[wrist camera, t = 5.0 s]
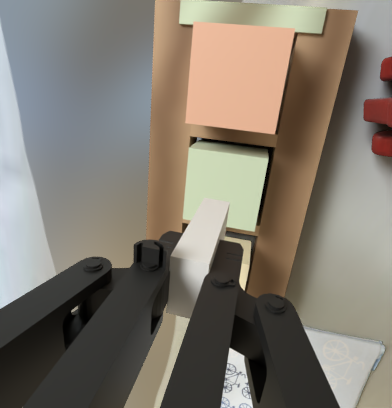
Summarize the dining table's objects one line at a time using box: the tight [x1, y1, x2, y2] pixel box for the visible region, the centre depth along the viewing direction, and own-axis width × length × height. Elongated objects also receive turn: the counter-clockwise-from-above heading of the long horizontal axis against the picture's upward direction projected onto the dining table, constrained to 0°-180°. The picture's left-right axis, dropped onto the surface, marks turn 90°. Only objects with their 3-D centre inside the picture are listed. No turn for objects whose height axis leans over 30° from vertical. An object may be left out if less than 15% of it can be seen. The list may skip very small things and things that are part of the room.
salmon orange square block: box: [185, 21, 295, 134], centre depth 20 cm, size 6×6×4 cm
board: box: [146, 0, 358, 298], centre depth 26 cm, size 14×26×3 cm, turn 174°
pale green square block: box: [183, 140, 268, 232], centre depth 25 cm, size 6×6×4 cm
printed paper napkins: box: [221, 326, 385, 408], centre depth 35 cm, size 19×20×2 cm
